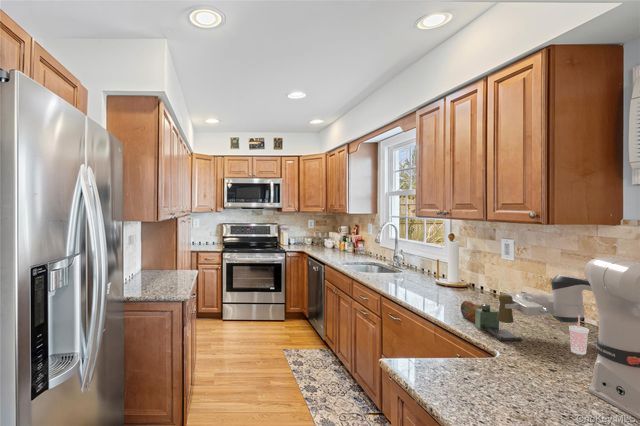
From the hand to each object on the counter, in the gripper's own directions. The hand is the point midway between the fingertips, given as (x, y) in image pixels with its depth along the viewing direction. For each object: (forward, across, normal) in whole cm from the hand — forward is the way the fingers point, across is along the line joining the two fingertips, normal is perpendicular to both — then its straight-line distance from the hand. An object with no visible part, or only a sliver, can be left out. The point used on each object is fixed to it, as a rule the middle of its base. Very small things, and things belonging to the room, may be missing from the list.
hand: (501, 304), depth 146 cm
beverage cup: (-20, -16, -14) cm, 29 cm away
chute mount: (0, +2, -13) cm, 14 cm away
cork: (-1, -1, -7) cm, 7 cm away
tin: (+3, +20, -14) cm, 24 cm away
